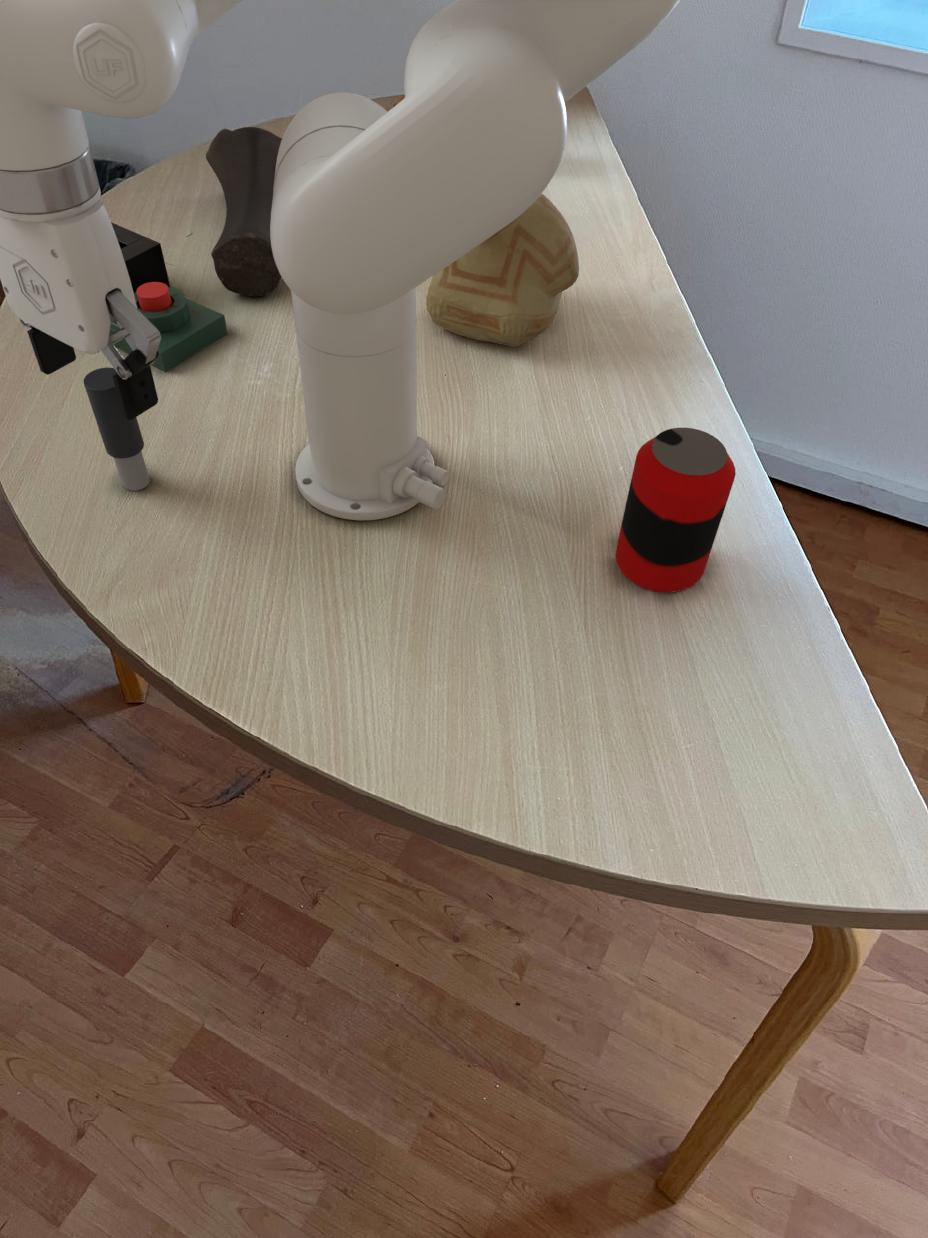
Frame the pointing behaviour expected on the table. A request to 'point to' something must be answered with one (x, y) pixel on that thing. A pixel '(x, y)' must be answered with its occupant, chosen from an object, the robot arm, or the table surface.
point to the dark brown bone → (246, 209)
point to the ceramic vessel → (508, 280)
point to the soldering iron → (117, 429)
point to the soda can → (674, 509)
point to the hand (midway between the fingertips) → (99, 388)
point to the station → (180, 329)
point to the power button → (154, 297)
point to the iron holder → (141, 258)
